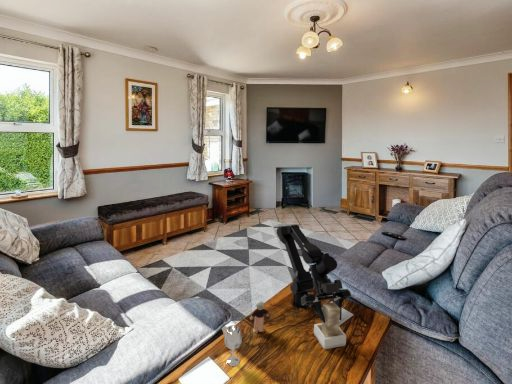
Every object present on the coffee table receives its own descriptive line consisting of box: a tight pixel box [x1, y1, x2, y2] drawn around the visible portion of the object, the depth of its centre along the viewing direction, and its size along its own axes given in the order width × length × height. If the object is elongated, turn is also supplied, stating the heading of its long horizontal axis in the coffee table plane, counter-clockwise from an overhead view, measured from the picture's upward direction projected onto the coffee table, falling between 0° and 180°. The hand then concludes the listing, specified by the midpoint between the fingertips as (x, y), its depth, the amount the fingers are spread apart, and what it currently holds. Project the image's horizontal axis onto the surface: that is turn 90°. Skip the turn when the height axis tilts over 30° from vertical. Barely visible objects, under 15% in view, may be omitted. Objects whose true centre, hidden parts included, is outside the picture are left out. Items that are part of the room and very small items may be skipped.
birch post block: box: [321, 301, 341, 338], centre depth 106 cm, size 4×4×13 cm
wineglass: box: [224, 324, 243, 367], centre depth 95 cm, size 6×6×12 cm
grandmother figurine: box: [249, 300, 270, 334], centre depth 111 cm, size 8×4×13 cm, turn 117°
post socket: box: [313, 322, 347, 350], centre depth 107 cm, size 9×9×4 cm
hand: (332, 321), depth 105 cm, fingers open, 6 cm apart
